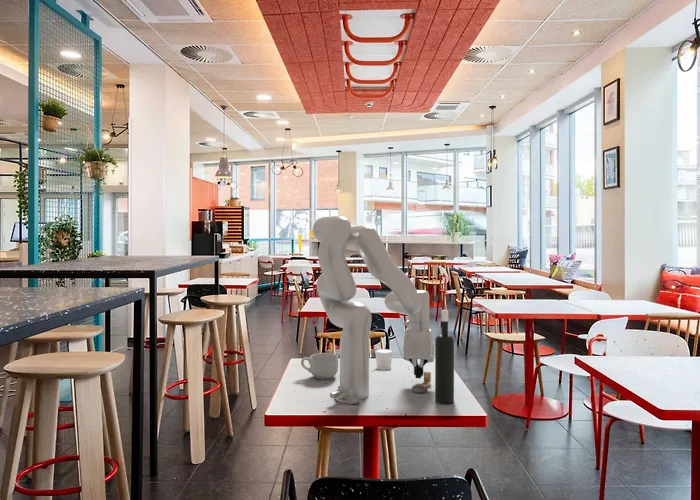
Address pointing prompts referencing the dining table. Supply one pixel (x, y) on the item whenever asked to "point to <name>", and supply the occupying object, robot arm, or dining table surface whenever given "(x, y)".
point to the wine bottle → (444, 364)
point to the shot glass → (383, 359)
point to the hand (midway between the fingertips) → (418, 377)
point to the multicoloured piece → (423, 384)
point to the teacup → (322, 365)
